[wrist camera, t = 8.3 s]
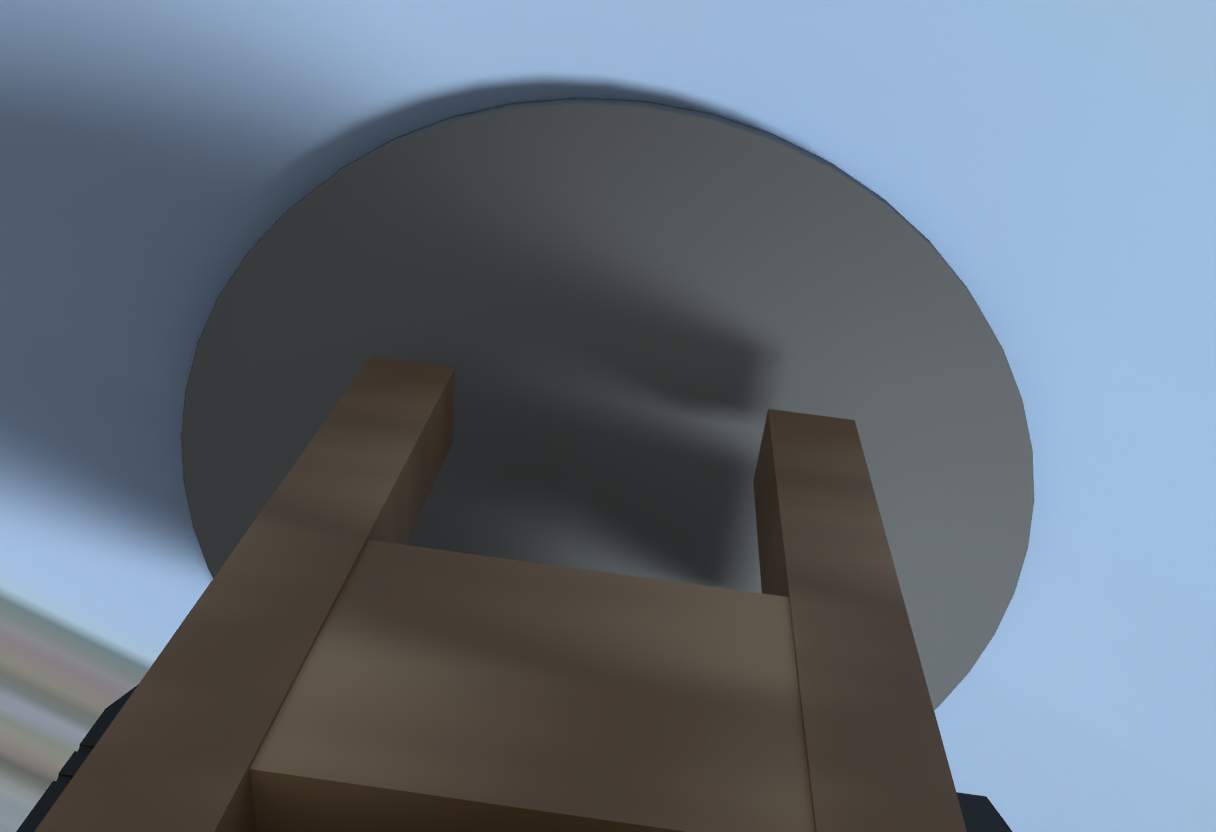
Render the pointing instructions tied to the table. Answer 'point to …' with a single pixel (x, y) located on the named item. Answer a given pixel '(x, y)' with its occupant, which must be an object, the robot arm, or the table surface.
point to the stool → (526, 666)
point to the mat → (626, 353)
